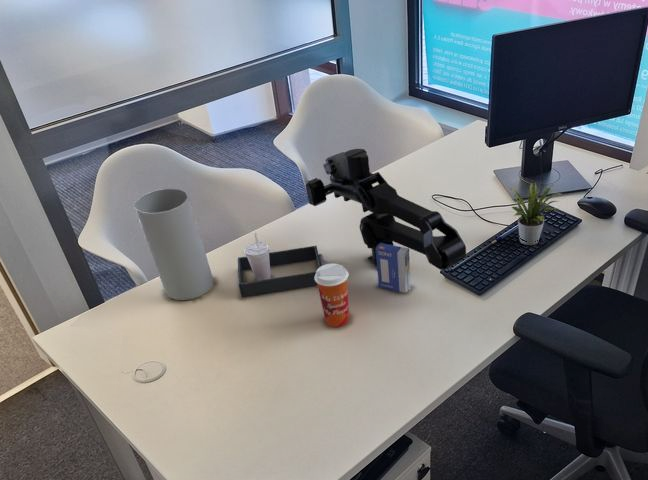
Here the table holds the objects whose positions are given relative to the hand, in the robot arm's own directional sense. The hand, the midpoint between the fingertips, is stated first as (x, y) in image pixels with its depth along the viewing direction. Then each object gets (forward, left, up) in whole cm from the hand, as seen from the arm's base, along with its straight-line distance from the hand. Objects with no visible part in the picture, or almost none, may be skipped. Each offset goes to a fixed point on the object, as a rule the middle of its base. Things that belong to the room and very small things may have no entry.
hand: (319, 176), depth 171 cm
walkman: (-37, +1, -17) cm, 41 cm away
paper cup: (-40, +19, -17) cm, 47 cm away
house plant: (-43, -42, -17) cm, 62 cm away
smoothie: (-13, +26, -17) cm, 34 cm away
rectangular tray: (-15, +22, -16) cm, 31 cm away
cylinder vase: (-4, +43, -17) cm, 46 cm away
